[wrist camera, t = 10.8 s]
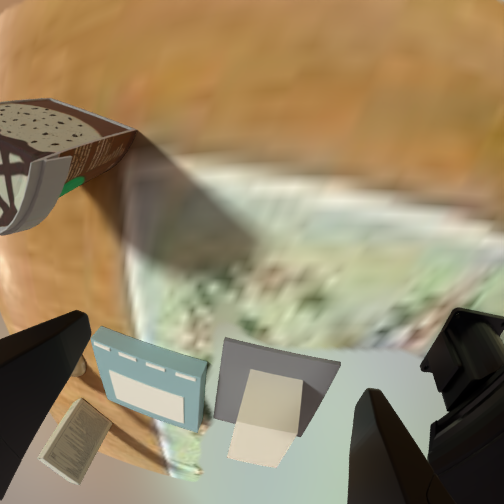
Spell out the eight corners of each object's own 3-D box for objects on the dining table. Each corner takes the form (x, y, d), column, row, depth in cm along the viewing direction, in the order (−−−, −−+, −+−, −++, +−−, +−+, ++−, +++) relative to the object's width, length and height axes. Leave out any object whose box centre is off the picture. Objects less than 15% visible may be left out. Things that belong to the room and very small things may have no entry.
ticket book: (207, 361, 25) (200, 378, 24) (202, 418, 30) (197, 433, 28) (101, 326, 26) (89, 339, 25) (115, 387, 31) (107, 399, 29)
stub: (303, 380, 24) (297, 433, 19) (283, 422, 27) (276, 468, 22) (250, 368, 24) (236, 421, 19) (239, 412, 27) (226, 457, 22)
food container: (27, 161, 20) (-63, 197, 12) (40, 94, 18) (-60, 110, 9) (131, 217, 21) (33, 287, 12) (155, 137, 18) (39, 166, 9)
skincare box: (73, 401, 36) (35, 457, 26) (82, 396, 35) (40, 457, 24) (104, 427, 38) (70, 484, 27) (115, 423, 36) (80, 486, 25)
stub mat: (340, 361, 23) (340, 365, 22) (301, 434, 28) (300, 436, 28) (225, 337, 24) (224, 340, 23) (214, 415, 29) (213, 418, 29)
